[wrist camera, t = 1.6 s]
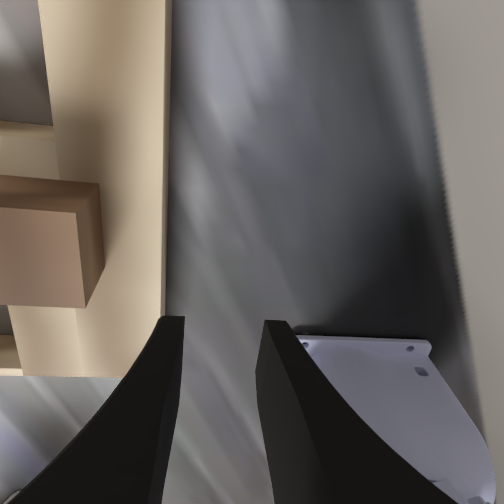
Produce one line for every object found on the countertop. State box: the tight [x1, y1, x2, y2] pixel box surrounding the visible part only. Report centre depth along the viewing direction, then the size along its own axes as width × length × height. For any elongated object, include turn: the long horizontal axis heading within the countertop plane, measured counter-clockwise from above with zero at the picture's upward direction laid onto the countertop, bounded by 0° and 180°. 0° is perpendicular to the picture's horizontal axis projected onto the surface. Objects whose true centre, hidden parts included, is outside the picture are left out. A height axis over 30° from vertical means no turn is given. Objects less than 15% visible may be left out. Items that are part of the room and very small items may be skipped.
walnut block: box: [0, 175, 105, 309], centre depth 15 cm, size 4×4×3 cm
